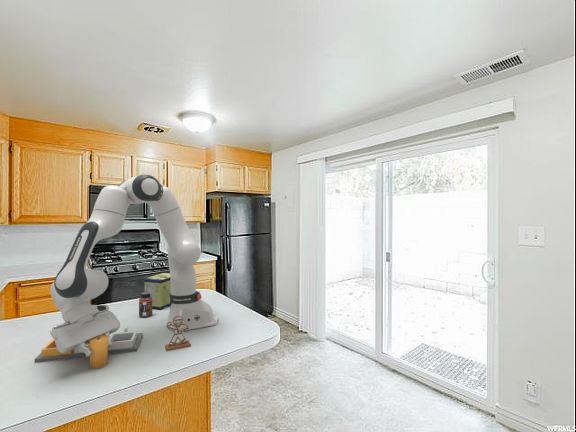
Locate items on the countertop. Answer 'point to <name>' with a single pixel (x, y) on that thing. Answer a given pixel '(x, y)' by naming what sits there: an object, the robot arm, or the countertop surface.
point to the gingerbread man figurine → (179, 344)
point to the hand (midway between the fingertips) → (100, 350)
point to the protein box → (159, 290)
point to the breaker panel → (118, 340)
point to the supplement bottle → (145, 305)
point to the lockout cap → (99, 352)
